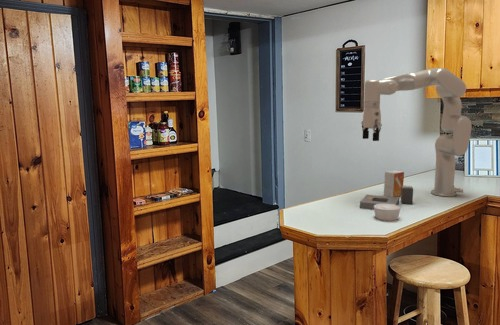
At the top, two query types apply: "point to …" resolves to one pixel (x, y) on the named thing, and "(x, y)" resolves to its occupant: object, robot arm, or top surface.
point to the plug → (407, 195)
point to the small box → (393, 183)
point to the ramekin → (386, 211)
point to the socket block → (377, 201)
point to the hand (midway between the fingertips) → (370, 139)
